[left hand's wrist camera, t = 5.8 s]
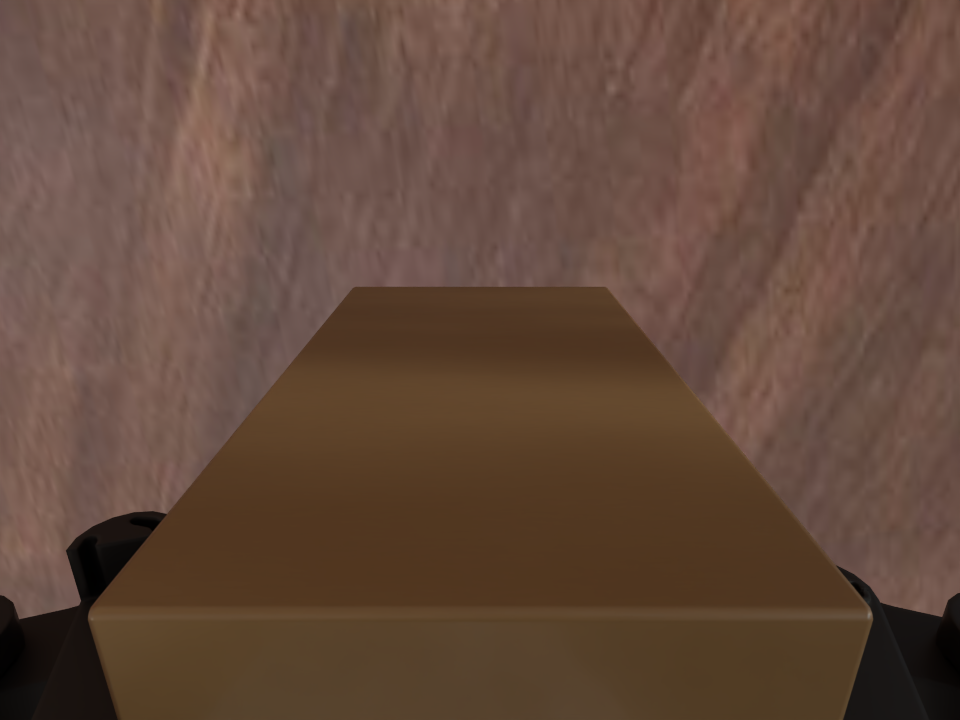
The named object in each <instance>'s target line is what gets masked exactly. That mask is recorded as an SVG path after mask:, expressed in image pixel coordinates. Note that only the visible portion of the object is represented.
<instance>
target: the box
mask: <svg viewBox="0 0 960 720" xmlns="http://www.w3.org/2000/svg"><path fill="white" fill-rule="evenodd" d="M88 622H89V625H90V629H91V632H92V635H93V639H94V642H95V645H96V649H97V652H98V655H99V659H100V662H101V665H102V669H103V672H104V675H105V679H106V682H107V685H108V689H109V692H110V695H111V699H112V702H113V705H114V708H115V712H116V715H117V718H118V720H843V718H844V715H845V711H846V708H847V705H848V701H849V698H850V695H851V692H852V688H853V685H854V682H855V678H856V675H857V672H858V668H859V665H860V662H861V658H862V655H863V652H864V648H865V645H866V642H867V639H868V635H869V632H870V629H871V625H872V622H873V615H872V611H871V609H870V607H869V605H868V604H867V603H866V602H865V601H864V599H863V598H862V597H861V596H860V594H859V593H858V592H857V591H856V590H855V588H854V587H853V586H852V585H851V583H850V582H849V581H848V580H847V579H846V577H845V576H844V575H843V574H842V573H841V571H840V570H839V569H838V568H837V566H836V565H835V564H834V563H833V562H832V560H831V559H830V558H829V557H828V556H827V554H826V553H825V552H824V551H823V549H822V548H821V547H820V546H819V545H818V543H817V542H816V541H815V540H814V539H813V537H812V536H811V535H810V534H809V532H808V531H807V530H806V529H805V528H804V526H803V525H802V524H801V523H800V522H799V520H798V519H797V518H796V517H795V515H794V514H793V513H792V512H791V511H790V509H789V508H788V507H787V506H786V505H785V503H784V502H783V501H782V500H781V498H780V497H779V496H778V495H777V494H776V492H775V491H774V490H773V489H772V488H771V486H770V485H769V484H768V483H767V481H766V480H765V479H764V478H763V477H762V475H761V474H760V473H759V472H758V471H757V469H756V468H755V467H754V466H753V464H752V463H751V462H750V461H749V460H748V458H747V457H746V456H745V455H744V454H743V452H742V451H741V450H740V449H739V447H738V446H737V445H736V444H735V443H734V441H733V440H732V439H731V438H730V437H729V435H728V434H727V433H726V432H725V430H724V429H723V428H722V427H721V426H720V424H719V423H718V422H717V421H716V420H715V418H714V417H713V416H712V415H711V413H710V412H709V411H708V410H707V409H706V407H705V406H704V405H703V404H702V403H701V401H700V400H699V399H698V398H697V396H696V395H695V394H694V393H693V392H692V390H691V389H690V388H689V387H688V386H687V384H686V383H685V382H684V381H683V379H682V378H681V377H680V376H679V375H678V373H677V372H676V371H675V370H674V369H673V367H672V366H671V365H670V364H669V362H668V361H667V360H666V359H665V358H664V356H663V355H662V354H661V353H660V351H659V350H658V349H657V348H656V347H655V345H654V344H653V343H652V342H651V341H650V339H649V338H648V337H647V336H646V334H645V333H644V332H643V331H642V330H641V328H640V327H639V326H638V325H637V324H636V322H635V321H634V320H633V319H632V317H631V316H630V315H629V314H628V313H627V311H626V310H625V309H624V308H623V307H622V305H621V304H620V303H619V302H618V300H617V299H616V298H615V297H614V296H613V294H612V293H611V292H610V291H609V290H608V288H606V287H354V288H353V289H352V290H351V291H350V292H349V294H348V295H347V296H346V297H345V299H344V300H343V301H342V302H341V303H340V305H339V306H338V307H337V308H336V309H335V311H334V312H333V313H332V314H331V316H330V317H329V318H328V319H327V320H326V322H325V323H324V324H323V325H322V327H321V328H320V329H319V330H318V331H317V333H316V334H315V335H314V336H313V337H312V339H311V340H310V341H309V342H308V344H307V345H306V346H305V347H304V348H303V350H302V351H301V352H300V353H299V354H298V356H297V357H296V358H295V359H294V361H293V362H292V363H291V364H290V365H289V367H288V368H287V369H286V370H285V372H284V373H283V374H282V375H281V376H280V378H279V379H278V380H277V381H276V382H275V384H274V385H273V386H272V387H271V389H270V390H269V391H268V392H267V393H266V395H265V396H264V397H263V398H262V400H261V401H260V402H259V403H258V404H257V406H256V407H255V408H254V409H253V410H252V412H251V413H250V414H249V415H248V417H247V418H246V419H245V420H244V421H243V423H242V424H241V425H240V426H239V427H238V429H237V430H236V431H235V432H234V434H233V435H232V436H231V437H230V438H229V440H228V441H227V442H226V443H225V445H224V446H223V447H222V448H221V449H220V451H219V452H218V453H217V454H216V455H215V457H214V458H213V459H212V460H211V462H210V463H209V464H208V465H207V466H206V468H205V469H204V470H203V471H202V472H201V474H200V475H199V476H198V477H197V479H196V480H195V481H194V482H193V483H192V485H191V486H190V487H189V488H188V490H187V491H186V492H185V493H184V494H183V496H182V497H181V498H180V499H179V500H178V502H177V503H176V504H175V505H174V507H173V508H172V509H171V510H170V511H169V513H168V514H167V515H166V516H165V518H164V519H163V520H162V521H161V522H160V524H159V525H158V526H157V527H156V528H155V530H154V531H153V532H152V533H151V535H150V536H149V537H148V538H147V539H146V541H145V542H144V543H143V544H142V545H141V547H140V548H139V549H138V550H137V552H136V553H135V554H134V555H133V556H132V558H131V559H130V560H129V561H128V563H127V564H126V565H125V566H124V567H123V569H122V570H121V571H120V572H119V573H118V575H117V576H116V577H115V578H114V580H113V581H112V582H111V583H110V584H109V586H108V587H107V588H106V589H105V590H104V592H103V593H102V594H101V595H100V597H99V598H98V599H97V600H96V601H95V603H94V604H93V605H92V606H91V608H90V611H89V614H88Z"/></svg>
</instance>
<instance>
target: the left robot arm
mask: <svg viewBox="0 0 960 720" xmlns="http://www.w3.org/2000/svg"><path fill="white" fill-rule="evenodd" d="M166 515H167V514H164V513H159V512H154V511H149V512H134V513H130V514H126V515H122V516H118V517H114V518H111V519H109V520H107V521H104V522H102V523H100V524H97V525H95V526H93V527H91V528H90V529H89V530H87V531H86V532H84V533H83V534H81V535H80V536H78V537H77V538H76V539H75V540H74V541H73V543H72V544H71V545H70V546H69V547H68V549H67V550H66V552H67V555H68V559H69V562H70V565H71V569H72V572H73V575H74V579H75V582H76V585H77V589H78V592H79V595H80V599H81V602H80V605H79V606H76V607H72V608H69V609H65V610H60V611H55V612H51V613H46V614H42V615H37V616H33V617H28V618H24V619H19V618H18V615H17V612H16V609H15V606H14V604H13V602H11V601H10V600H9V599H7V598H6V597H5V596H1V595H0V720H118V718H117V715H116V712H115V708H114V705H113V702H112V699H111V695H110V692H109V689H108V685H107V682H106V679H105V675H104V672H103V669H102V665H101V662H100V659H99V655H98V652H97V649H96V645H95V642H94V639H93V635H92V632H91V629H90V625H89V622H88V614H89V611H90V608H91V606H92V605H93V604H94V603H95V601H96V600H97V599H98V598H99V597H100V595H101V594H102V593H103V592H104V590H105V589H106V588H107V587H108V586H109V584H110V583H111V582H112V581H113V580H114V578H115V577H116V576H117V575H118V573H119V572H120V571H121V570H122V569H123V567H124V566H125V565H126V564H127V563H128V561H129V560H130V559H131V558H132V556H133V555H134V554H135V553H136V552H137V550H138V549H139V548H140V547H141V545H142V544H143V543H144V542H145V541H146V539H147V538H148V537H149V536H150V535H151V533H152V532H153V531H154V530H155V528H156V527H157V526H158V525H159V524H160V522H161V521H162V520H163V519H164V518H165V516H166ZM837 568H838V569H839V570H840V571H841V573H842V574H843V575H844V576H845V577H846V579H847V580H848V581H849V582H850V583H851V585H852V586H853V587H854V588H855V590H856V591H857V592H858V593H859V594H860V596H861V597H862V598H863V599H864V601H865V602H866V603H867V604H868V605H869V607H870V609H871V611H872V615H873V622H872V625H871V629H870V632H869V635H868V639H867V642H866V645H865V648H864V652H863V655H862V658H861V662H860V665H859V668H858V672H857V675H856V678H855V682H854V685H853V688H852V692H851V695H850V698H849V701H848V705H847V708H846V711H845V715H844V718H843V720H960V593H958V594H956V595H955V596H953V597H952V598H951V599H949V600H948V602H947V605H946V608H945V611H944V614H943V617H939V616H935V615H930V614H926V613H921V612H916V611H912V610H907V609H903V608H898V607H894V606H890V605H886V604H883V603H880V601H879V599H878V598H877V597H876V595H875V594H874V592H873V591H872V589H871V588H870V587H869V586H868V585H867V584H866V583H864V582H863V581H862V580H861V579H859V578H858V577H857V576H856V575H854V574H852V573H850V572H848V571H846V570H844V569H842V568H840V567H838V566H837Z"/></svg>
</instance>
